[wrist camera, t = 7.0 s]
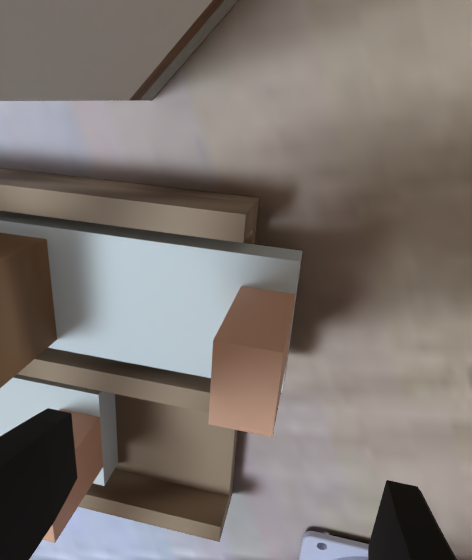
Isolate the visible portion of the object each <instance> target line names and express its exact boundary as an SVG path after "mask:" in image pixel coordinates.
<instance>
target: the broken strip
mask: <svg viewBox="0 0 472 560" xmlns="http://www.w3.org/2000/svg"><path fill="white" fill-rule="evenodd" d="M47 408H50V409H55V410H59V411H64V412H69V413H71V414H72V425H73V435H74V446H75V456H76V467H77V477H78V478H77V480H76V482H75V484H74V486H73V488H72V490H71V492H70V494H69V496H68V498H67V499H66V501H65V503H64V505H63V507H62V509H61V511H60V512H59V514H58V516H57V518H56V520H55V521H54V523H53V524H52V526H51V527H50V529H49V531H48V532H47V534H46V535H45V536H44V538H43V540H46V541H50V542H54V543H55V542H56V540H57V539H58V537H59V536H60V534H61V532H62V531H63V529H64V528H65V526H66V525H67V523H68V521H69V520H70V518H71V517H72V515H73V514H74V512H75V510H76V509H77V507H78V506H79V504H80V503H81V501H82V499H83V498H84V496H85V495H86V493H87V492H88V490H89V488H90V487H91V485H92V484H93V483H94V484H98V485H103V486H105V484H106V482H107V481H108V479H109V477H110V476H111V474H112V473H113V471H114V469H115V468H116V466H117V464H118V450H117V429H116V407H115V394H113V393H108V392H103V391H98V390H93V389H88V388H83V387H78V386H73V385H68V384H63V383H58V382H53V381H49V380H44V379H39V378H34V377H29V376H24V375H19V374H16V375H15V376H14V377H13V378H12V379H11V380H9V381H8V382H7V383H6V384H5V385H4V386H2V387H1V388H0V436H2V435H3V434H5V433H6V432H8V431H10V430H11V429H13V428H15V427H16V426H18V425H20V424H21V423H23V422H25V421H26V420H28V419H30V418H32V417H33V416H35V415H37V414H38V413H40V412H42V411H44V410H46V409H47Z"/></svg>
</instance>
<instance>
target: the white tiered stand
mask: <svg viewBox="0 0 472 560" xmlns="http://www.w3.org/2000/svg"><path fill="white" fill-rule="evenodd" d="M237 2H238V0H0V101H79V100H153V98H154V97H155V96H156V95H157V94H158V93H159V92H160V90H161V89H162V88H163V87H164V86H165V85H166V83H167V82H168V81H169V80H170V79H171V78H172V77H173V75H174V74H175V73H176V72H177V71H178V70H179V68H180V67H181V66H182V65H183V64H184V63H185V62H186V60H187V59H188V58H189V57H190V56H191V55H192V53H193V52H194V51H195V50H196V49H197V48H198V47H199V45H200V44H201V43H202V42H203V41H204V40H205V38H206V37H207V36H208V35H209V34H210V33H211V32H212V30H213V29H214V28H215V27H216V26H217V25H218V23H219V22H220V21H221V20H222V19H223V18H224V17H225V15H226V14H227V13H228V12H229V11H230V10H231V8H232V7H233V6H234V5H235V4H236V3H237Z"/></svg>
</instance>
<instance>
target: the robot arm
mask: <svg viewBox="0 0 472 560" xmlns="http://www.w3.org/2000/svg"><path fill="white" fill-rule="evenodd" d="M77 478H78V477H77V467H76V456H75V446H74V435H73V425H72V414H71V413H69V412H64V411H59V410H55V409H50V408H47V409H46V410H44V411H42V412H40V413H38V414H37V415H35V416H33V417H32V418H30V419H28V420H26V421H25V422H23V423H21V424H20V425H18V426H16V427H15V428H13V429H11V430H10V431H8V432H6V433H5V434H3V435H2V436H0V560H29V559H30V557H31V556H32V554H33V553H34V551H35V550H36V548H37V547H38V545H39V544H40V542H41V541H42V539H43V538H44V536H45V535H46V534H47V532H48V531H49V529H50V527H51V526H52V524H53V523H54V521H55V520H56V518H57V516H58V514H59V512H60V511H61V509H62V507H63V505H64V503H65V501H66V499H67V498H68V496H69V494H70V492H71V490H72V488H73V486H74V484H75V482H76V480H77ZM299 560H457V559H456V557H455V555H454V554H453V552H452V550H451V548H450V546H449V544H448V543H447V541H446V539H445V537H444V535H443V533H442V531H441V530H440V528H439V526H438V524H437V522H436V520H435V518H434V516H433V514H432V512H431V510H430V508H429V506H428V504H427V502H426V500H425V498H424V496H423V494H422V492H421V491H420V490H419V488H418V487H416V486H412V485H407V484H402V483H398V482H393V481H388V480H387V481H386V484H385V488H384V492H383V495H382V499H381V503H380V506H379V510H378V514H377V517H376V521H375V524H374V528H373V532H372V535H371V539H370V543H369V544H366V543H362V542H358V541H353V540H349V539H345V538H341V537H336V536H332V535H328V534H324V533H320V532H315V531H307V532H305V533H304V535H303V538H302V544H301V549H300V554H299Z"/></svg>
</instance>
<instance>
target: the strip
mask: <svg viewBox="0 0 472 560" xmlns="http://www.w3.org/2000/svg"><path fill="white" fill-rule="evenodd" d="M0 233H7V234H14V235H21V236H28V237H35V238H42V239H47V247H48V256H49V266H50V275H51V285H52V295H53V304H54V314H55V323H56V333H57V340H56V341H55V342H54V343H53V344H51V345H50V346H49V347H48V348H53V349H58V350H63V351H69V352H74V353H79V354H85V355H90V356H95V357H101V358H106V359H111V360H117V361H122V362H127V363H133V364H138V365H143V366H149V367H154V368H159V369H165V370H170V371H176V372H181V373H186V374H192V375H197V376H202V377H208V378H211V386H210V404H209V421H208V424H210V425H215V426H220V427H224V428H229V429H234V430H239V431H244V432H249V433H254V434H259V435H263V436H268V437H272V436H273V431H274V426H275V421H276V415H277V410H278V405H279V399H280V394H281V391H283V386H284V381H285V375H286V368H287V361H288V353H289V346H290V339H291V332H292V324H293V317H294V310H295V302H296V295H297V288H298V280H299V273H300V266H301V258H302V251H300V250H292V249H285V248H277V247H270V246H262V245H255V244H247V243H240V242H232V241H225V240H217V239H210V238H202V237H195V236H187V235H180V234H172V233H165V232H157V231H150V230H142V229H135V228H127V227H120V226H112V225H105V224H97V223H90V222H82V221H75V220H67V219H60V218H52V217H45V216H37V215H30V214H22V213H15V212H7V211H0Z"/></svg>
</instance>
